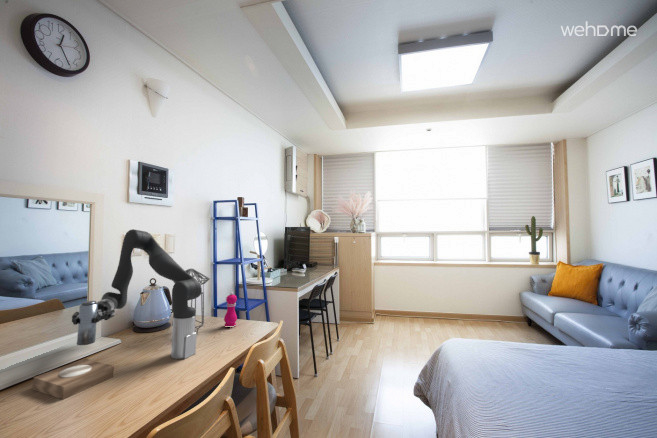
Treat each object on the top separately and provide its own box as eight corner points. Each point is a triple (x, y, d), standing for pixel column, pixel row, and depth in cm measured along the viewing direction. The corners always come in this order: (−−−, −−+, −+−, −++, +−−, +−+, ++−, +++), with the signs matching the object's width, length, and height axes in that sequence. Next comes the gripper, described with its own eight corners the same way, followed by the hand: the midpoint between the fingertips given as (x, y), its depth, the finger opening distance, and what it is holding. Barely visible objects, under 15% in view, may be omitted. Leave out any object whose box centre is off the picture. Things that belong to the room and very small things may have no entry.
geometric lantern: (193, 326, 168) (196, 266, 169) (208, 333, 158) (212, 268, 160) (165, 334, 155) (169, 268, 156) (180, 341, 146) (184, 271, 147)
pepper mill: (224, 329, 166) (226, 293, 166) (222, 325, 172) (224, 291, 173) (237, 327, 169) (239, 292, 170) (235, 323, 175) (237, 290, 176)
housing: (98, 340, 117) (101, 301, 117) (85, 346, 111) (88, 304, 112) (87, 339, 118) (89, 299, 118) (72, 344, 112) (75, 303, 113)
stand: (113, 376, 110) (113, 365, 110) (63, 399, 95) (64, 386, 95) (84, 368, 115) (85, 357, 115) (32, 389, 100) (33, 376, 100)
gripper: (82, 301, 126) (62, 312, 110) (121, 300, 131) (108, 310, 115) (80, 319, 126) (60, 332, 110) (120, 317, 131) (106, 329, 115)
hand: (85, 321), depth 113 cm, fingers closed on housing, 5 cm apart
